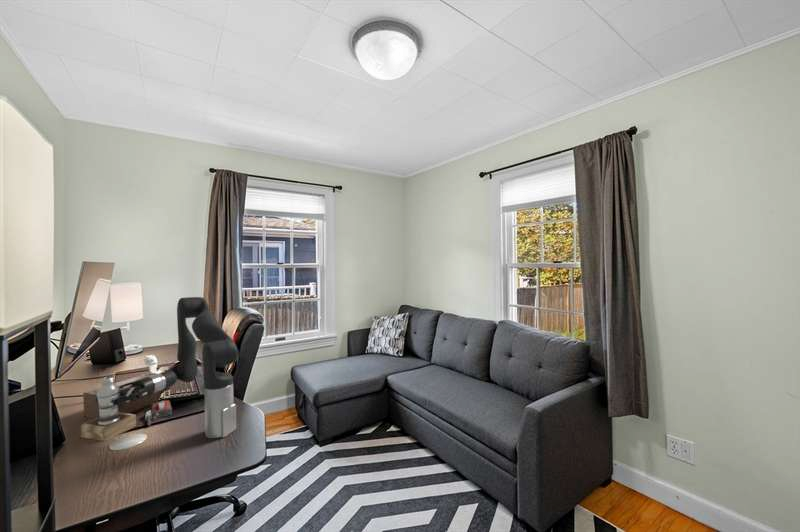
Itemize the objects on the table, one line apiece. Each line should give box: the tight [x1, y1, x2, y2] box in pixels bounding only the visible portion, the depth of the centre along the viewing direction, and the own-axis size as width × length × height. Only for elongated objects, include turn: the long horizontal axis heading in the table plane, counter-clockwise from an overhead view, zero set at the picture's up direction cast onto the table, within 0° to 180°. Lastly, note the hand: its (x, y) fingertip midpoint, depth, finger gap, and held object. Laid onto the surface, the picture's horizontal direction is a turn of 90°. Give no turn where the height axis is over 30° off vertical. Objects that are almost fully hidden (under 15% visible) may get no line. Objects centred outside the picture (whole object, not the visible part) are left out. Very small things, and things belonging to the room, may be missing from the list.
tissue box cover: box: [82, 372, 172, 420], centre depth 144 cm, size 26×14×10 cm, turn 159°
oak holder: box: [80, 412, 137, 442], centre depth 121 cm, size 12×11×4 cm
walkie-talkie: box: [144, 399, 173, 427], centre depth 134 cm, size 9×4×20 cm
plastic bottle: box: [97, 375, 120, 427], centre depth 121 cm, size 6×7×20 cm
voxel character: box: [143, 354, 162, 374], centre depth 166 cm, size 7×12×15 cm
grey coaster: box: [109, 433, 148, 451], centre depth 114 cm, size 10×10×1 cm
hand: (105, 401), depth 120 cm, fingers open, 8 cm apart
